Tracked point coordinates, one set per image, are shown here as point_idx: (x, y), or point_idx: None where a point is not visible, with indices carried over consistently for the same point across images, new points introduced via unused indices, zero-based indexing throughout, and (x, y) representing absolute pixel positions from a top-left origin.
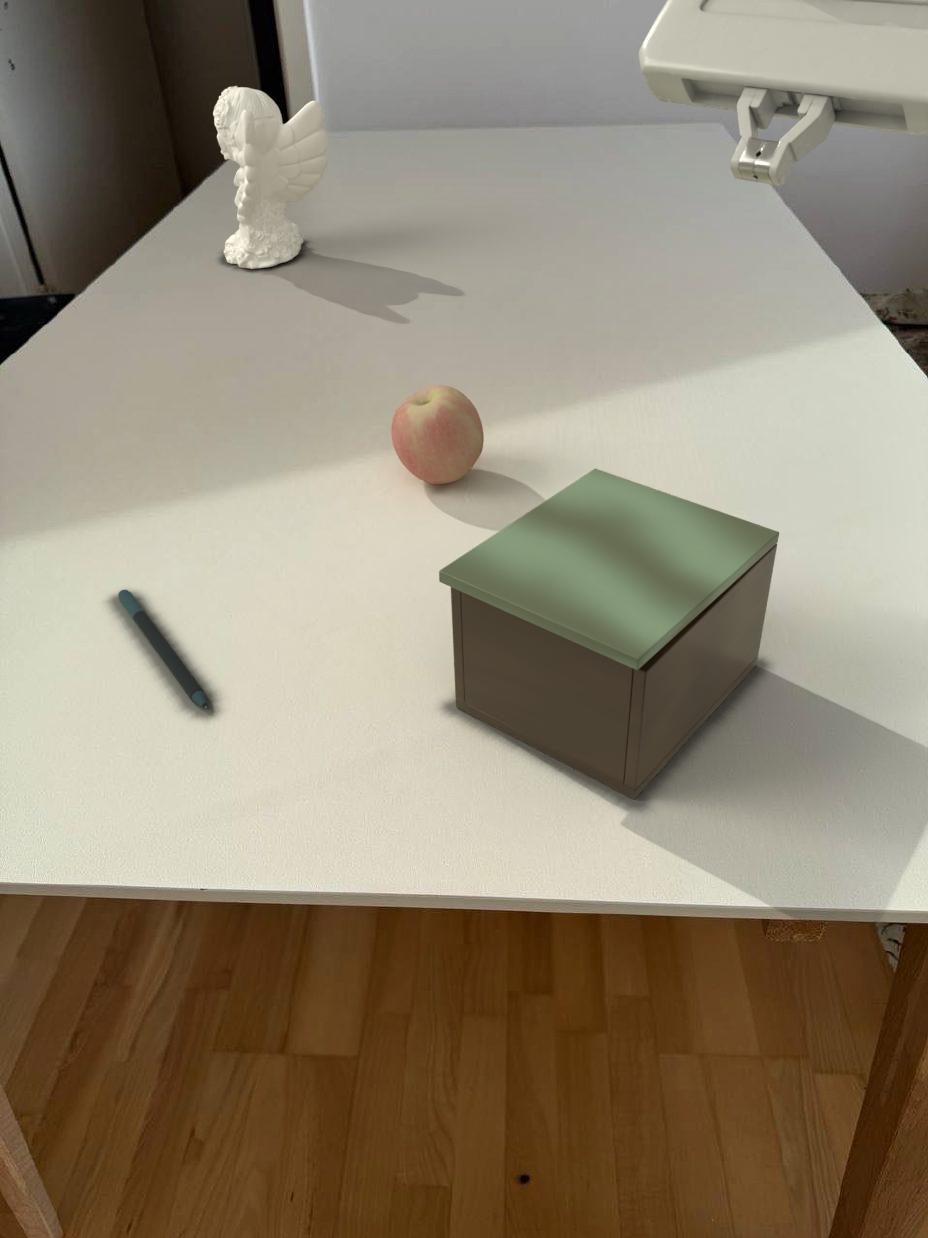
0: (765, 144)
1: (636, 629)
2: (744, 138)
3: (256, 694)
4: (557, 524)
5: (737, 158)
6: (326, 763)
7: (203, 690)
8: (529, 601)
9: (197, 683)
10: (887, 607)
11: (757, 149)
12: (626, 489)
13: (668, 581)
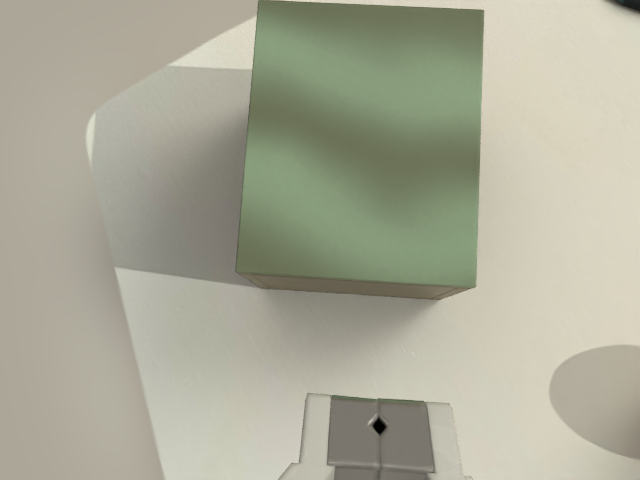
0: (371, 451)
1: (279, 33)
2: (449, 465)
3: (590, 30)
4: (438, 148)
5: (435, 411)
6: (487, 5)
7: (626, 2)
8: (382, 15)
9: (636, 2)
10: (186, 442)
11: (389, 437)
12: (417, 260)
13: (291, 118)
